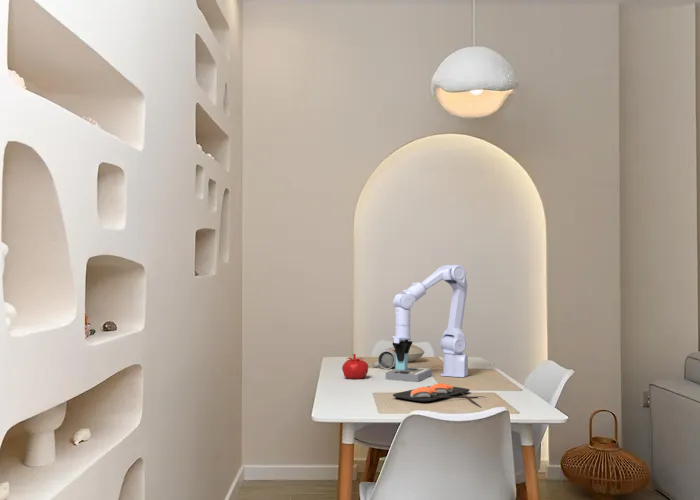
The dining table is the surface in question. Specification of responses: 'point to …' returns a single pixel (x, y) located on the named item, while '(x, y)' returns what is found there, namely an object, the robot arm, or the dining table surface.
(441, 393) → the sushi plate
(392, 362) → the ceramic mug
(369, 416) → the dining table surface
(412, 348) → the nautilus
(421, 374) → the panel
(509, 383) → the dining table surface
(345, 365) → the red round piece
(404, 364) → the plug
